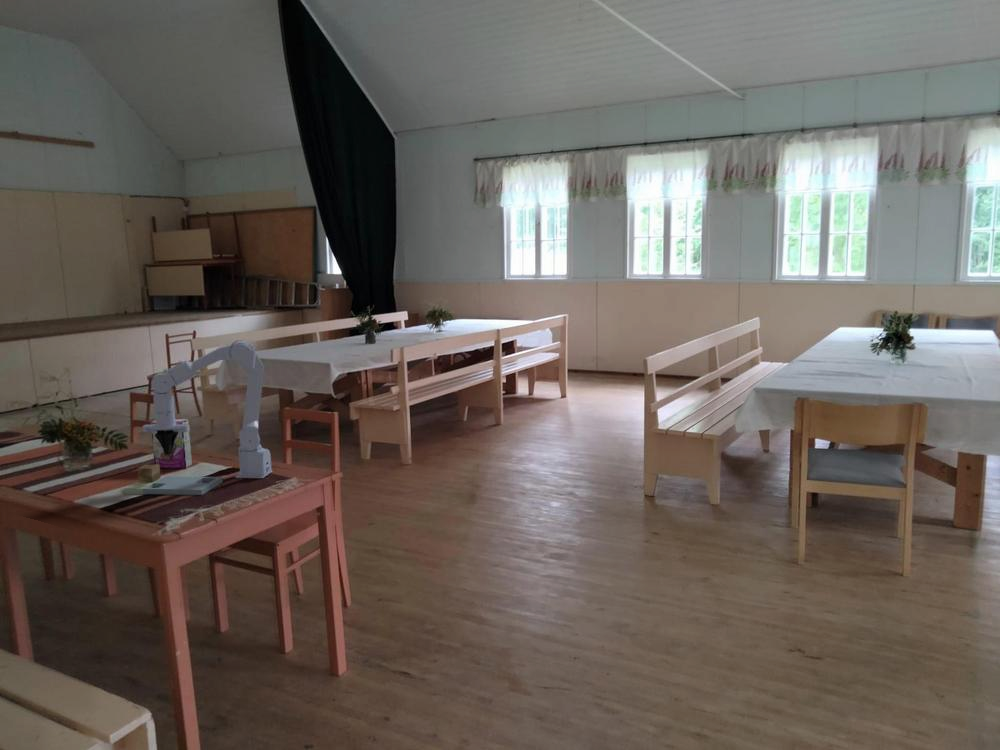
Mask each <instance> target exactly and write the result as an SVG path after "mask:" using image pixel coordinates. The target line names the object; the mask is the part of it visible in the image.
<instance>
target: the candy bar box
mask: <svg viewBox="0 0 1000 750" xmlns="http://www.w3.org/2000/svg"><path fill="white" fill-rule="evenodd" d="M175 419H176V418H175ZM151 424H156V421H155V420H153V421H151V422H150V425H151ZM176 424H183V425H190V423H189V419H184V418H183V419H182V418H181V419H179V418H178V419H176ZM155 434H157V431H151V439H152V451H153V452H152V454H153V460H154V461H153V462H154V464H153V465H160V470H161V469H170V470H171V469H173V470H174V469H188V468H190V467H191V466H192V465H193V461H192V460H193V459H192V449H191V436H190V435H191V433H190V431H188V432H178V435H177V437H176V439H175V442H174V446H173V452H172V454H170V455H165V453H164V450H163V448H162V446H161V444H160V442H159V441H158V439H157V438H156V437H155Z"/></svg>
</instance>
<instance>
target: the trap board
mask: <svg viewBox="0 0 1000 750" xmlns="http://www.w3.org/2000/svg"><path fill="white" fill-rule="evenodd" d="M160 476H161V475H160ZM223 479H224V477H223V476H221V477H220V476H174V475H173V476H171V475H170V476H168V475H167V476H165V475H164V476H163V475H162V476H161V478H160V479H159V480H157V481H155V482H153V483H147V482H139V480H138V481H137V482H134V483H131V485H128V486H126V487H124V488H123V492H124V494H125V495H126V494H133V495H141V494H142V495H184V496H185V495H189V496H190V495H191V496H196V495H197V496H202V495H204V494H206V493H208V492H209V491H211V490H212V489H214V488H216V487H217V486H219V485H221V484H222V483H224V482H223V481H224V480H223Z"/></svg>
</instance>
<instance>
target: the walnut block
mask: <svg viewBox="0 0 1000 750" xmlns="http://www.w3.org/2000/svg"><path fill="white" fill-rule="evenodd" d="M137 475H138V481H139V482H147V483H153V482H155V481H157V480H159V479H160V478H161V469H160V465H155V464H145V465H142V466H140V467H138V468H137Z"/></svg>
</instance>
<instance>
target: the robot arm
mask: <svg viewBox="0 0 1000 750" xmlns="http://www.w3.org/2000/svg"><path fill="white" fill-rule="evenodd" d="M231 358H232V359H233V360H234V361H235V362H237V363H239V364H240V365H242V366H243V367H244V368H245V370H247V371H248V376H247V386H246V395H245V404H244V413H243V420H242V421H243V422H242V426H241V428H240V430H239V432H238V439H239V447H238V448H237V449H238V459H239V460H238V462H239V473H238V474H237V475H235V477H234V478H235V479H264V478H265V477H266V476H268V475H270V474H271V473H273V470H272V455H271V451H270V450H269V449H268V448H264V447H262V444H260V443H261V437H260V434H259V420H260V419H259V418H260V409H261V399H262V389H263V382H264V381H263V380H264V371H265V367H264V364H263V362H262V360H261V358H260V357H259V355H258V354H257V352H256V350H255V349H254V347H253V346H252V345H251V344H250V343H248V342H247V341H246V340H242V339H238V340H235V341H233V342H232V343H231V342H230V343H227V344H224V345H222V346H219V347H217V348H216V349H213V350H212V351H210V352H208V353H207V354H205V355H202V356H201V357H199V358H197V359H195V360H193V361H189V360H184V361H182V360H180V361H178V362H177V364H176V365H174V366H172V367H170V368H168V369H167V368H165V369H163V370H162V372H158V373H157V374H155V375H154V376H153V377H152V379H151V384H150V385H151V388H152V390H153V391H152V393H153V395H152V396H153V398H152V399H153V408H154V409H153V411H154V418H155V419H154V421H156V424H151V423H150V424H144V425H142V432H143V433H147V432H152V431H157V434H155V437H156V438H157V439H158V441H159V442H160V444H161V446H162V448H163V450H164V453H165V455H170V454H172V452H173V446H174V442H175V439H176V437H177V435H178V432H188V431H189V432H190V431H191V428H190V427H191V426H190V424H189V425H183V424H176V410H175V401H174V399H175V397H174V396H173V387H177V386H180V385H181V384H183V383H185V382H187V381H190V380H191V379H193V378H195V377H196V375H197V372H199V371H200V370H202V369H204V368H206V367H209V366H211V365H213V364H215V363H217V362H220V361H231Z"/></svg>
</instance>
